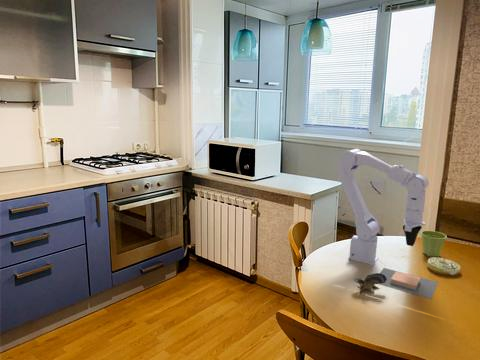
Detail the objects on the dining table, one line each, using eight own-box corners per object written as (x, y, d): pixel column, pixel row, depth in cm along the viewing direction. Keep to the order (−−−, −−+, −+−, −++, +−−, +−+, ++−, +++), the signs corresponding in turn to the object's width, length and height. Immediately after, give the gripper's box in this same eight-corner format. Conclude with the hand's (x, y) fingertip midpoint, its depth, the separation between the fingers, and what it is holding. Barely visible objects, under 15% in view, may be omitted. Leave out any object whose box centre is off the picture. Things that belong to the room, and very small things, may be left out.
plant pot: (420, 247, 155) (423, 228, 153) (445, 253, 150) (448, 233, 148) (416, 255, 147) (418, 235, 146) (442, 261, 142) (445, 240, 140)
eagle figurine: (375, 298, 112) (392, 285, 117) (363, 277, 113) (380, 265, 118) (358, 300, 118) (374, 288, 123) (347, 280, 119) (364, 268, 124)
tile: (395, 275, 129) (390, 283, 123) (395, 271, 128) (390, 278, 123) (419, 282, 124) (415, 290, 119) (420, 277, 124) (416, 285, 118)
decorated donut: (458, 280, 127) (459, 270, 126) (424, 272, 133) (425, 262, 132) (460, 269, 135) (461, 260, 134) (428, 262, 141) (429, 253, 140)
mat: (372, 283, 124) (372, 282, 124) (383, 268, 135) (383, 267, 135) (431, 300, 113) (431, 299, 113) (437, 283, 124) (438, 282, 124)
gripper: (422, 216, 120) (417, 254, 123) (431, 206, 131) (426, 241, 134) (400, 212, 124) (395, 249, 127) (410, 203, 135) (406, 237, 138)
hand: (410, 245), depth 131 cm, fingers closed
